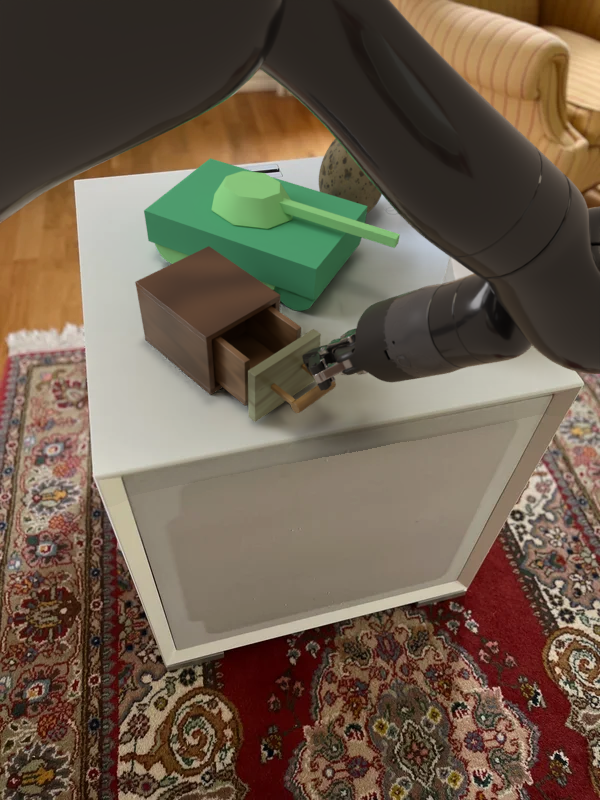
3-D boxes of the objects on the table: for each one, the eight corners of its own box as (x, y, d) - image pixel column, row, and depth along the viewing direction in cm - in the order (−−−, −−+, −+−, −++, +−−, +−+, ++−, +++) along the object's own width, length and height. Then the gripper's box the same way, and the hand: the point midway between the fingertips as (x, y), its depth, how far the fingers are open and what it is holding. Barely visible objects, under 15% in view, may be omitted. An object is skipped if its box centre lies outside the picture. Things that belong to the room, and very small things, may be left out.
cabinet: (278, 352, 84) (280, 294, 77) (210, 395, 79) (206, 337, 72) (212, 303, 91) (208, 245, 83) (145, 339, 85) (134, 281, 78)
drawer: (345, 401, 78) (352, 355, 72) (284, 446, 73) (286, 401, 67) (249, 330, 86) (249, 283, 80) (188, 366, 81) (183, 319, 75)
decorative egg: (390, 211, 109) (405, 125, 98) (359, 239, 103) (371, 150, 92) (337, 191, 113) (346, 105, 102) (303, 217, 107) (309, 129, 96)
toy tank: (375, 263, 78) (140, 186, 88) (363, 337, 87) (151, 260, 97) (422, 198, 89) (208, 135, 98) (407, 269, 98) (213, 206, 108)
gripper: (447, 264, 57) (335, 304, 72) (350, 329, 51) (248, 359, 65) (481, 338, 59) (364, 362, 74) (390, 410, 52) (282, 421, 67)
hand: (310, 361), depth 69 cm, fingers closed
